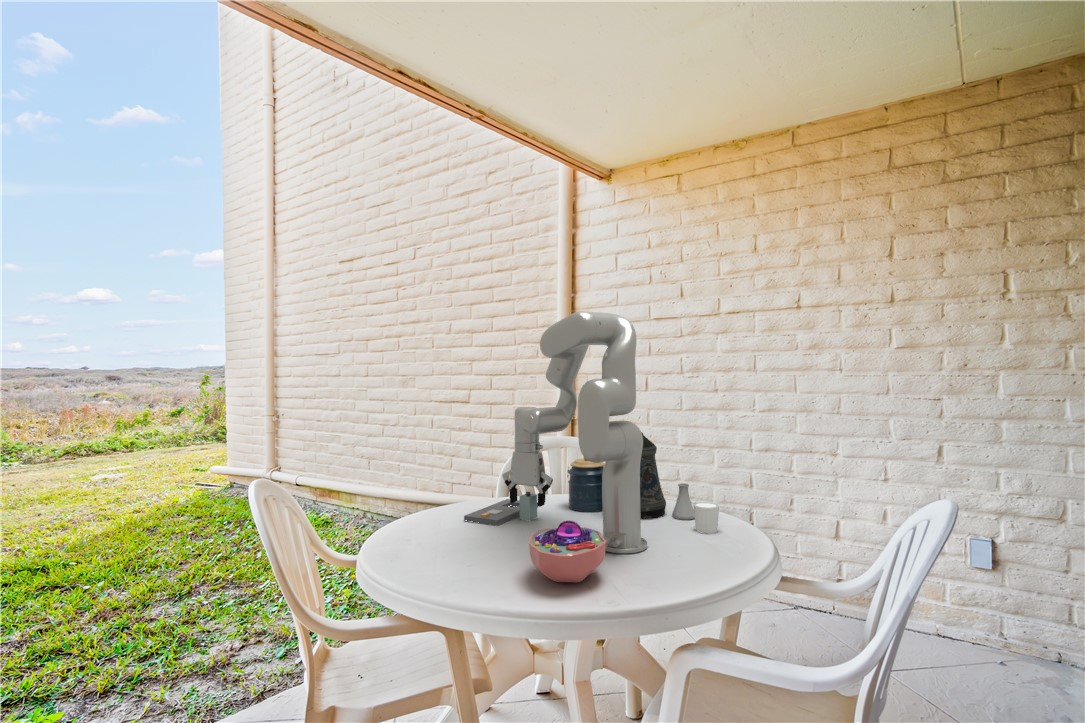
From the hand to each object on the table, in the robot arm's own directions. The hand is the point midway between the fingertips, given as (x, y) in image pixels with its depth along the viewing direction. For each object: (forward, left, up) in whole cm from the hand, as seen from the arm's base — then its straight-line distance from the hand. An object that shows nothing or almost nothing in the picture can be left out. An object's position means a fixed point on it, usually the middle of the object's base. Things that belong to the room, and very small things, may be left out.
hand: (527, 503), depth 168 cm
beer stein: (+19, -28, -5) cm, 34 cm away
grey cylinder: (+10, -51, -5) cm, 53 cm away
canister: (+20, -11, -5) cm, 23 cm away
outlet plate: (+1, +10, -4) cm, 11 cm away
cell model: (-38, -32, -5) cm, 50 cm away
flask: (+21, -42, -5) cm, 47 cm away
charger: (0, 0, -4) cm, 4 cm away
